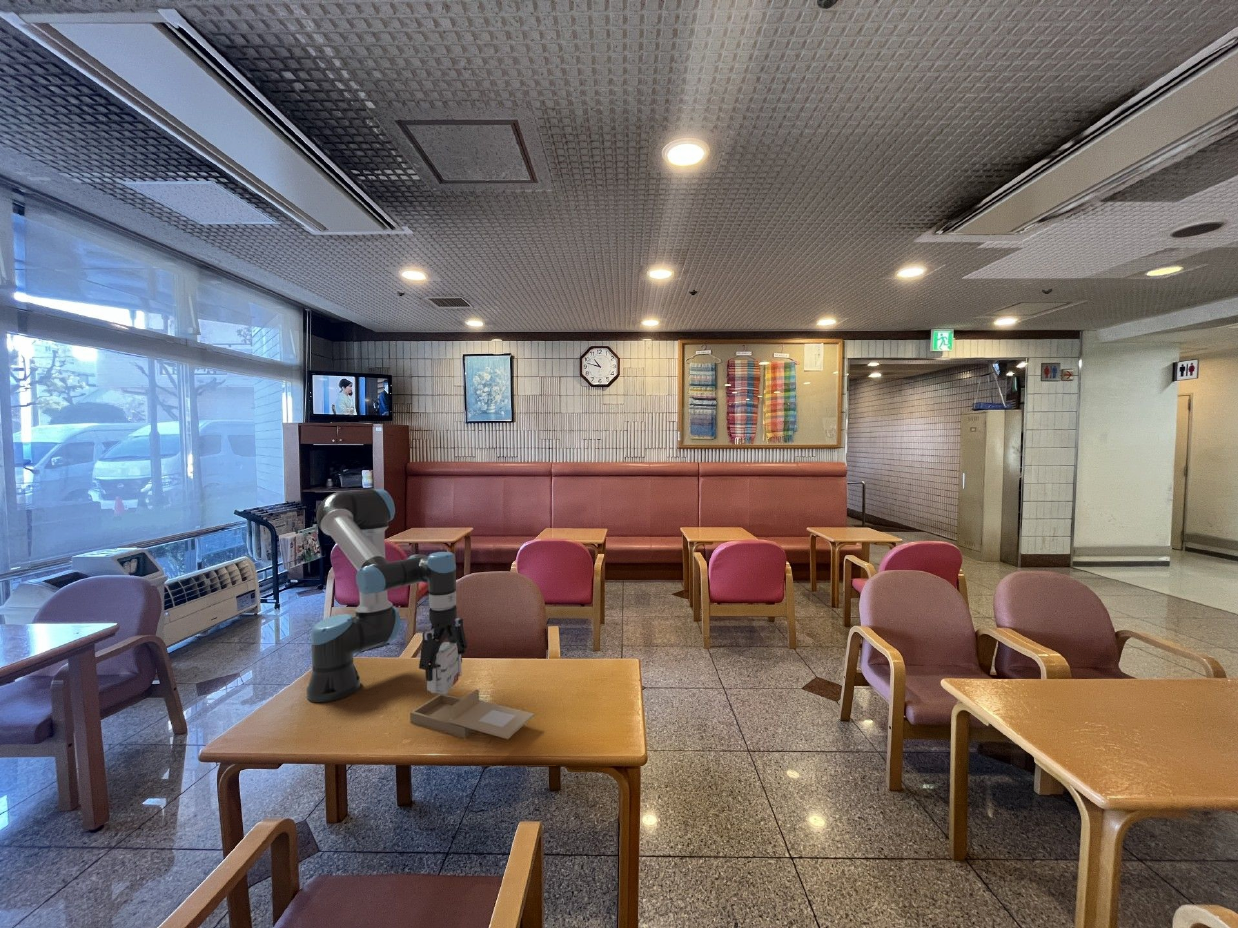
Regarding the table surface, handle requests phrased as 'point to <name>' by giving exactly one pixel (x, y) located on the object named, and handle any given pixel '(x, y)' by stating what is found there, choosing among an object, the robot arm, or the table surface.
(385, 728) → the table surface
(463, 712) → the lid
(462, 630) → the robot arm
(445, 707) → the mailer
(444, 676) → the ink box
